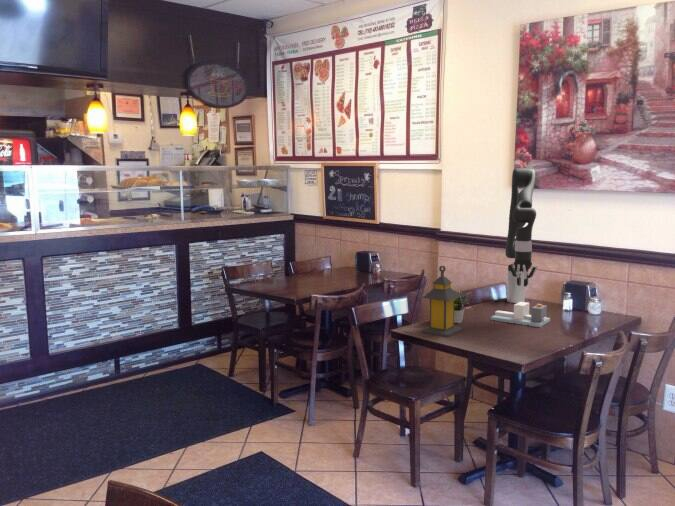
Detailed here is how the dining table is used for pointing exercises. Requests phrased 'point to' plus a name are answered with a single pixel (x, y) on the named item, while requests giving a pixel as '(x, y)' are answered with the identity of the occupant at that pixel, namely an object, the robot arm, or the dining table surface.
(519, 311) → the din module
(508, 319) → the rail board
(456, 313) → the house plant
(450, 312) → the lantern
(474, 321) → the dining table surface
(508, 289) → the robot arm
